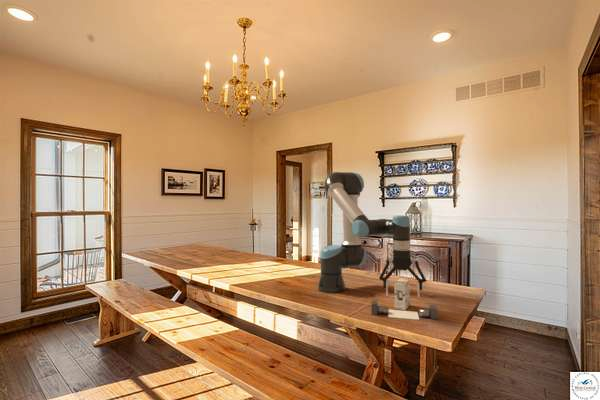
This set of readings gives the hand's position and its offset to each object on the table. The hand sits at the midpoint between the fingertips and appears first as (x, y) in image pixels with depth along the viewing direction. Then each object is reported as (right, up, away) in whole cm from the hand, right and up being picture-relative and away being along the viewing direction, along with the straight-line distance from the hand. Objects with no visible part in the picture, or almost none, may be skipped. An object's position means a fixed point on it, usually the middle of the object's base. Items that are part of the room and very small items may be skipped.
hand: (402, 296), depth 144 cm
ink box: (0, -5, 0) cm, 5 cm away
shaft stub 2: (+6, -5, -12) cm, 15 cm away
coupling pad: (-3, -5, -10) cm, 11 cm away
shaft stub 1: (-12, -5, -7) cm, 15 cm away
